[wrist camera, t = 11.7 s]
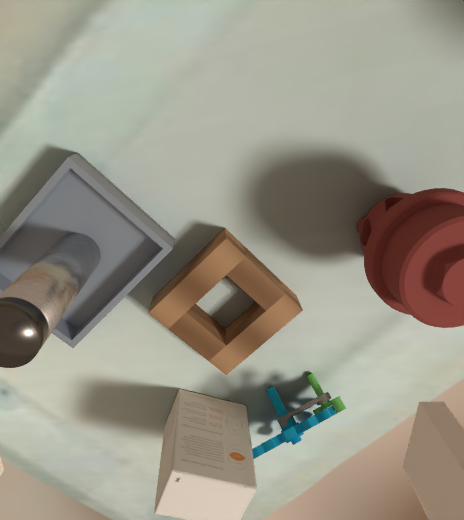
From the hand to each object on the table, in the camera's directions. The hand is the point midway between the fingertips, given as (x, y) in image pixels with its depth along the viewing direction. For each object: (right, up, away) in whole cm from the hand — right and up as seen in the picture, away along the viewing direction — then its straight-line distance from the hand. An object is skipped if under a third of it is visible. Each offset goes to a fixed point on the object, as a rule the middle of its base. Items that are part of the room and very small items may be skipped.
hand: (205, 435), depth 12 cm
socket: (0, +2, +27) cm, 27 cm away
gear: (+7, -11, +32) cm, 35 cm away
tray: (-13, +6, +24) cm, 28 cm away
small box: (-2, -12, +32) cm, 35 cm away
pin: (-13, +6, +24) cm, 28 cm away
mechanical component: (+16, +9, +25) cm, 31 cm away
